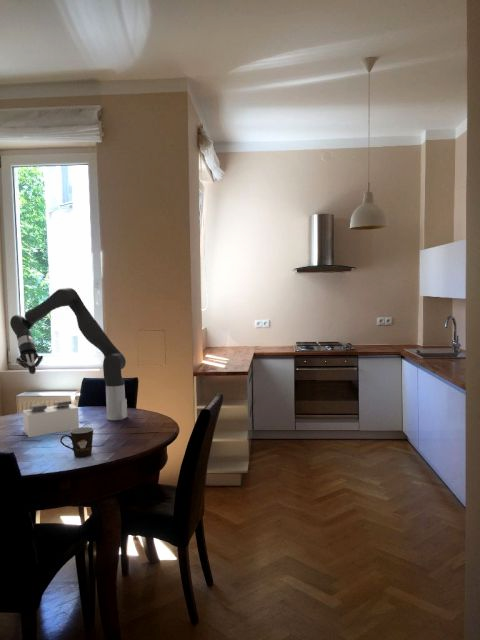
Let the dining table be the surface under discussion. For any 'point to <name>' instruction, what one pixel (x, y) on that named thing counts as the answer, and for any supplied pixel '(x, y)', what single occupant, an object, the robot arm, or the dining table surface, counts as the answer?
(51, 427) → the switch box
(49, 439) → the dining table surface
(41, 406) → the rocker outer
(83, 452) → the coffee mug
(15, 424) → the dining table surface
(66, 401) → the block
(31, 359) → the robot arm
